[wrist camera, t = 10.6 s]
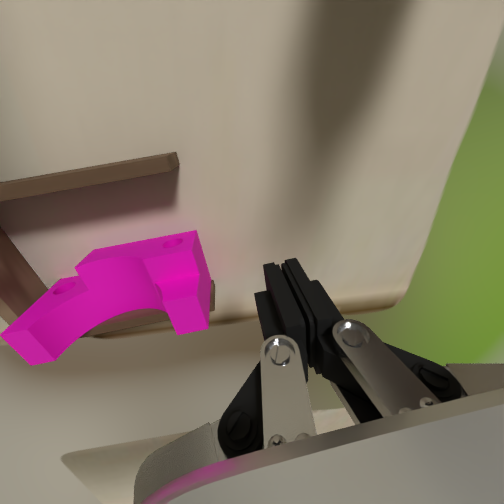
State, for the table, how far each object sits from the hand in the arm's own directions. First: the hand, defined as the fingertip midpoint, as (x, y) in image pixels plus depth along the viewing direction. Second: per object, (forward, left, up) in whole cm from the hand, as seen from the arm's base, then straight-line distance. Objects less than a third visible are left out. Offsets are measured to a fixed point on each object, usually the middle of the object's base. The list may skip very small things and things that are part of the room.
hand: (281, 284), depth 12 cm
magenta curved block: (+4, -13, -13) cm, 19 cm away
